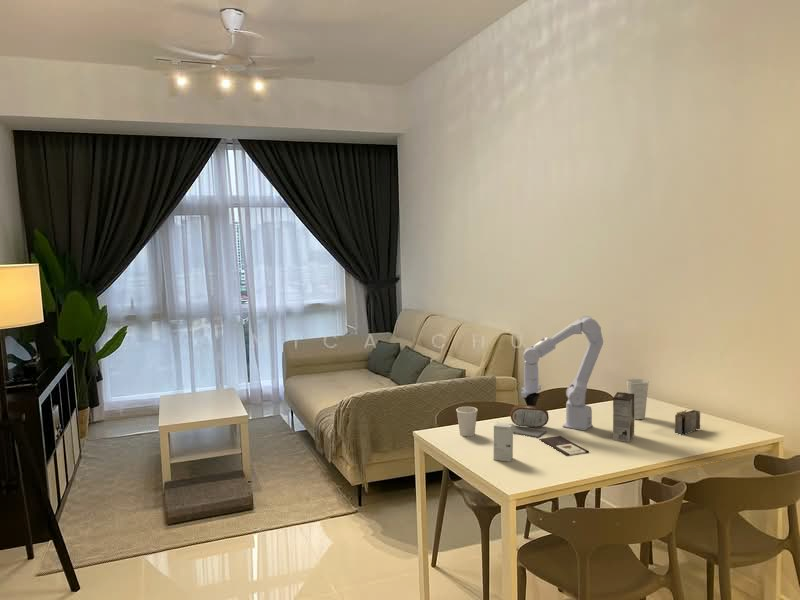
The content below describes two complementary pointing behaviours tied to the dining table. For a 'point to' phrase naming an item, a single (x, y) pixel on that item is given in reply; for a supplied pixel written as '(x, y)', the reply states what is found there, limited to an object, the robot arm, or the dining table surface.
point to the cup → (638, 396)
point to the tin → (529, 416)
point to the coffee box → (623, 416)
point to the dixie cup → (467, 420)
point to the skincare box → (503, 441)
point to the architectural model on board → (687, 421)
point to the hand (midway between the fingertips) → (531, 411)
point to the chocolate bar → (564, 445)
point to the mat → (527, 431)
